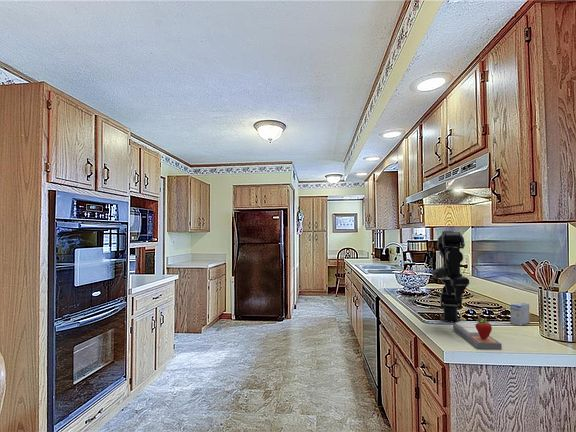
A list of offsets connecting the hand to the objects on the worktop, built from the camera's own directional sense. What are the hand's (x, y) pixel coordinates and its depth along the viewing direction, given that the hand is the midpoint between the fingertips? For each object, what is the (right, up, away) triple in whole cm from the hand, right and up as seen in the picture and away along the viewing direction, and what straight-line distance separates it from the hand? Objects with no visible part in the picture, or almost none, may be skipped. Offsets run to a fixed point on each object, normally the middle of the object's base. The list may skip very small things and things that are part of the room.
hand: (453, 298), depth 151 cm
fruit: (+2, -11, -20) cm, 23 cm away
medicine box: (+33, -13, +7) cm, 36 cm away
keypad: (+2, -13, -13) cm, 18 cm away
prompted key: (+2, -12, -20) cm, 24 cm away
